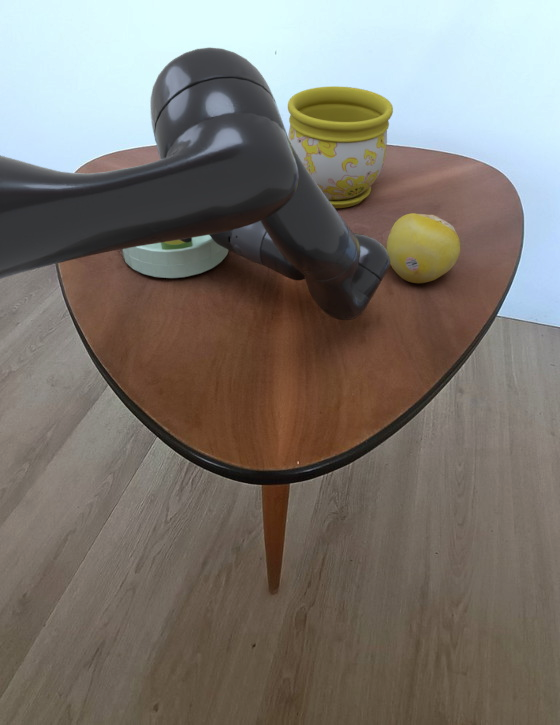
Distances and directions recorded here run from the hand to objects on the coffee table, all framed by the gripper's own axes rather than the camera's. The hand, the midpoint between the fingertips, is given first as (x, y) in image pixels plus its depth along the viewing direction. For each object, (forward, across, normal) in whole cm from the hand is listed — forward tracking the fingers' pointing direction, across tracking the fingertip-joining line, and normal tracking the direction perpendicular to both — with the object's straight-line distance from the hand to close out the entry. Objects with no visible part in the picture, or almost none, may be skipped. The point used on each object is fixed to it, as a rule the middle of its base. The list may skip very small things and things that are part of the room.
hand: (172, 193), depth 83 cm
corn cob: (+1, 0, +10) cm, 10 cm away
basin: (+1, 0, +10) cm, 11 cm away
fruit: (-32, -20, +11) cm, 40 cm away
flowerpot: (-6, -33, +11) cm, 36 cm away
